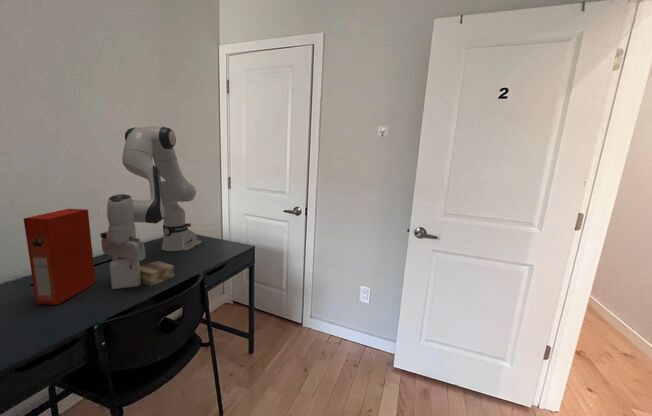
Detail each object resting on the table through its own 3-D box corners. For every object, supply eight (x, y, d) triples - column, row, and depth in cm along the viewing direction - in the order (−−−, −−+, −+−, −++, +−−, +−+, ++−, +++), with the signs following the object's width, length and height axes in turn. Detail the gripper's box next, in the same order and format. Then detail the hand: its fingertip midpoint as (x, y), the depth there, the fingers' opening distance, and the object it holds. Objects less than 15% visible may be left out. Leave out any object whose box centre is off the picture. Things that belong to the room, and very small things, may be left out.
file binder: (35, 304, 101) (23, 217, 95) (75, 282, 118) (67, 208, 112) (58, 305, 101) (48, 219, 95) (95, 283, 118) (88, 209, 112)
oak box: (158, 272, 133) (158, 260, 132) (174, 277, 128) (173, 265, 127) (134, 281, 123) (133, 268, 122) (150, 287, 118) (150, 274, 117)
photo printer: (110, 290, 113) (107, 261, 111) (113, 285, 117) (110, 257, 115) (139, 287, 117) (138, 259, 115) (141, 282, 121) (140, 255, 119)
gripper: (148, 237, 113) (150, 269, 115) (113, 229, 119) (115, 260, 122) (133, 241, 107) (136, 274, 110) (97, 233, 113) (99, 265, 116)
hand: (124, 267), depth 116 cm, fingers open, 8 cm apart
